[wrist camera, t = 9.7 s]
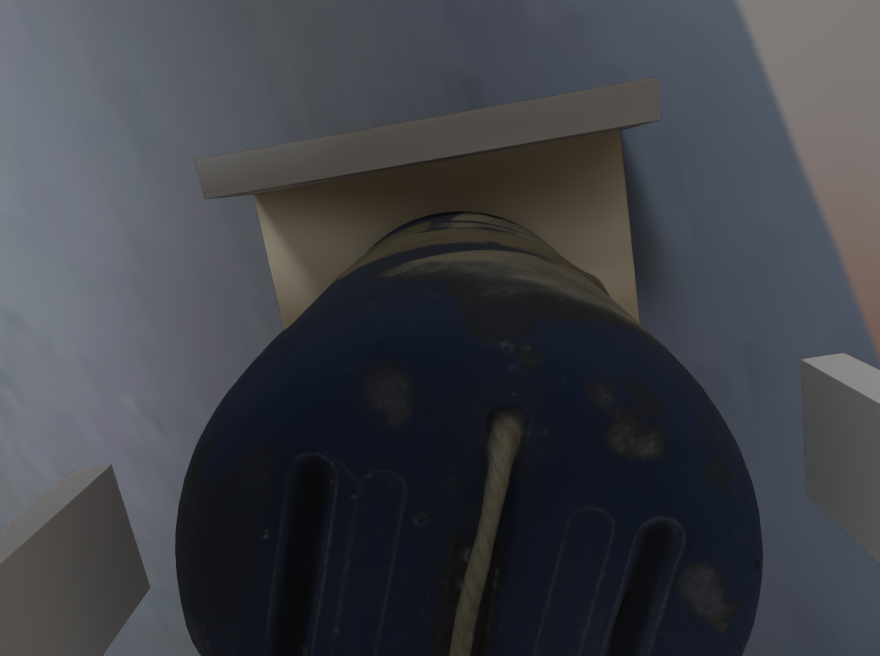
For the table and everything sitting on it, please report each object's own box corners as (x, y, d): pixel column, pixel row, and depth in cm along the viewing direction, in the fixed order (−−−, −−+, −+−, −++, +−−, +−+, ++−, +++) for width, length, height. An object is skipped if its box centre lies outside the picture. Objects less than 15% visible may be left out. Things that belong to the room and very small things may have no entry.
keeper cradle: (254, 163, 26) (194, 159, 20) (610, 100, 25) (657, 77, 19) (333, 514, 29) (302, 599, 23) (648, 469, 28) (699, 545, 22)
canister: (623, 271, 25) (1003, 505, 8) (514, 474, 27) (623, 1013, 10) (397, 165, 25) (261, 161, 7) (303, 383, 27) (20, 795, 9)
